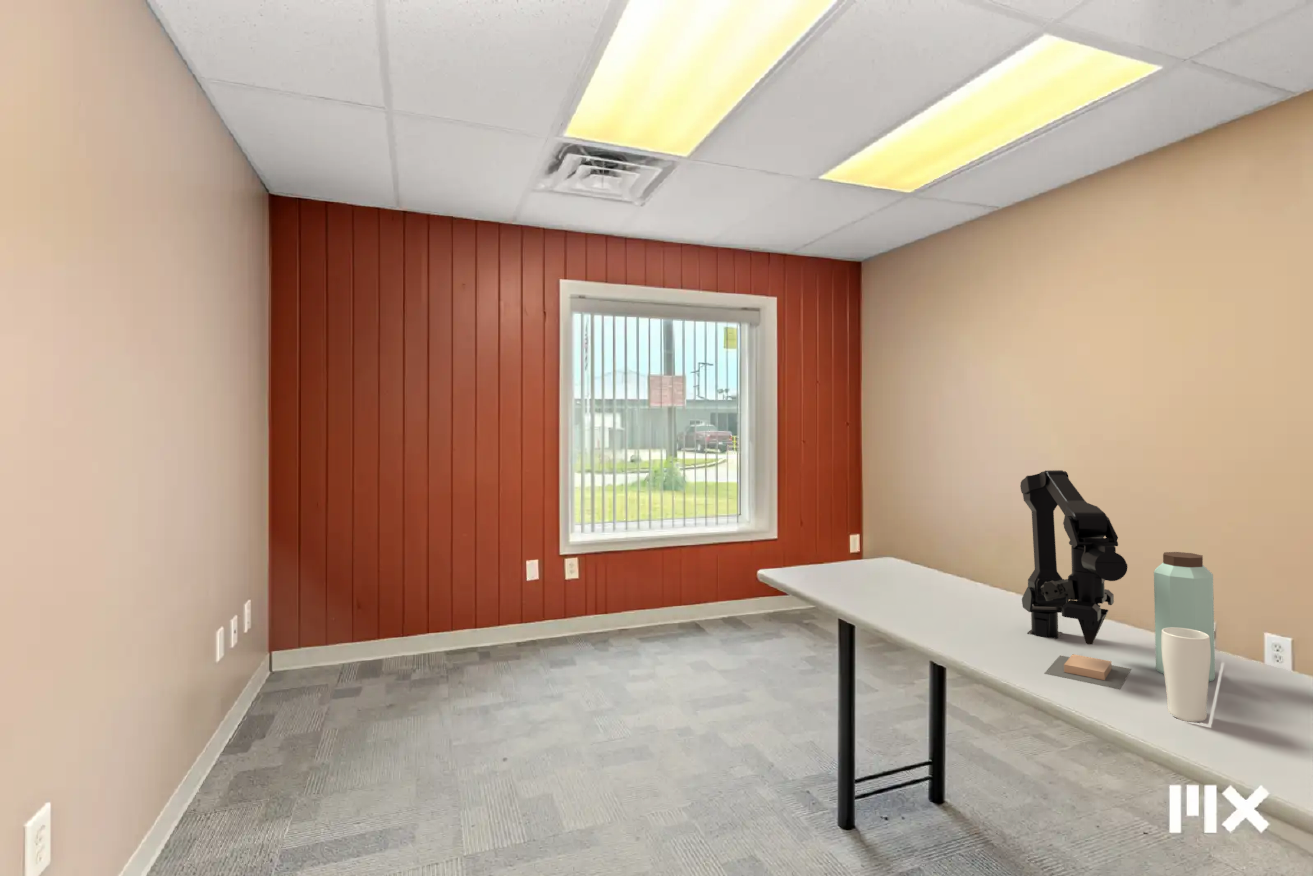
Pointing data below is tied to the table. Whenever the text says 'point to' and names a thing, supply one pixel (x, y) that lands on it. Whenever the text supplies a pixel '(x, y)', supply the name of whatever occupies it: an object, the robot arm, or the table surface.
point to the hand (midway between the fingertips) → (1089, 643)
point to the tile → (1088, 666)
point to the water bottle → (1183, 599)
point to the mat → (1112, 679)
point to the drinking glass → (1186, 672)
